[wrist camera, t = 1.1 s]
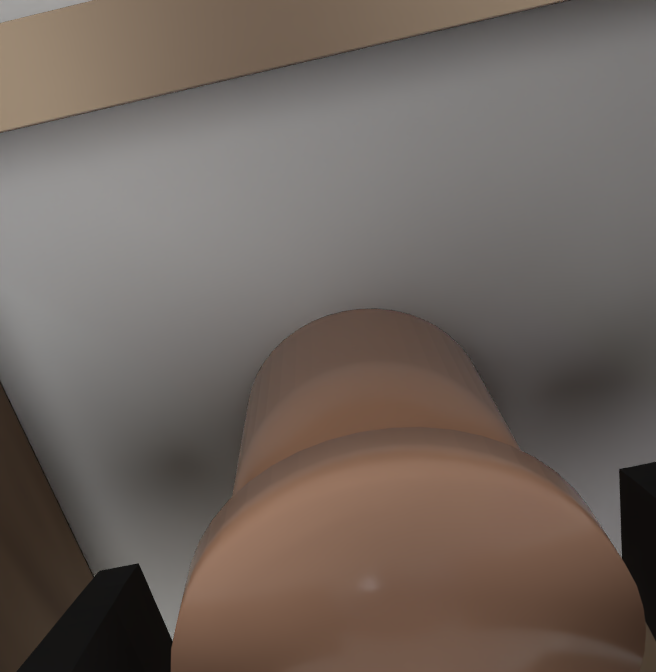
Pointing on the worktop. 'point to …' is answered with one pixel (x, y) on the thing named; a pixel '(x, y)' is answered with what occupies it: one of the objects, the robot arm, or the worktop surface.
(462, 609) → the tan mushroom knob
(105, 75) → the shallow wooden tray
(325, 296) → the worktop surface
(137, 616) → the robot arm
